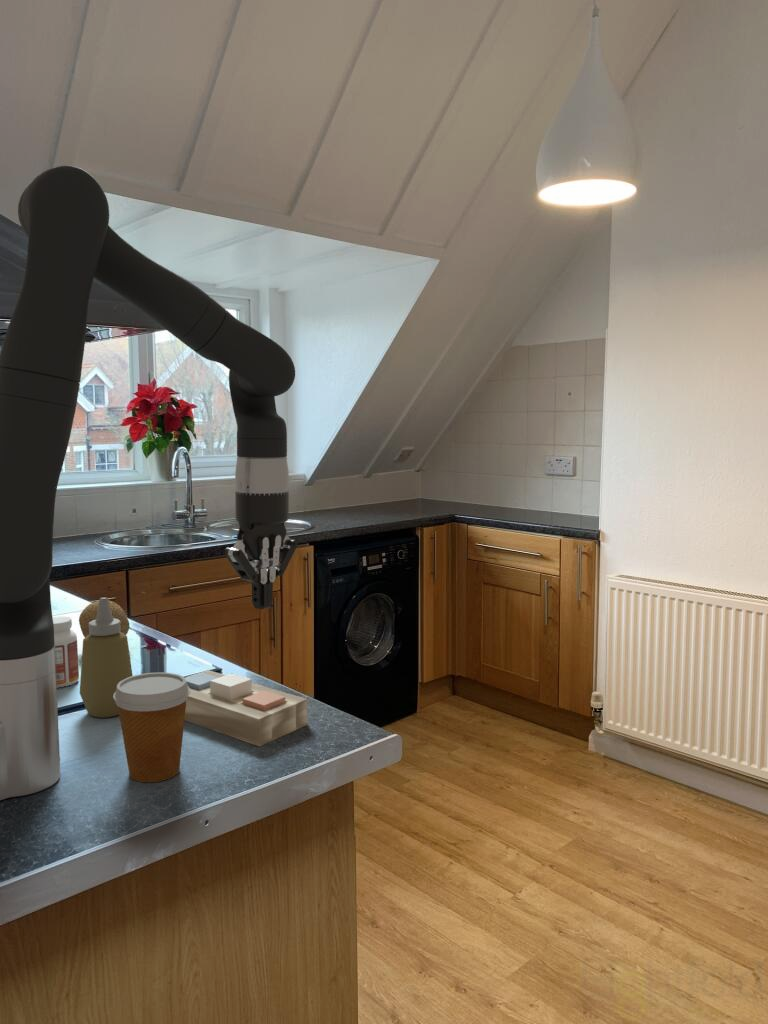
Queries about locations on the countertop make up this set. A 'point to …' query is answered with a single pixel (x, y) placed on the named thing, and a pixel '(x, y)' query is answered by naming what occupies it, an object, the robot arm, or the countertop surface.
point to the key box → (245, 714)
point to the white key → (231, 686)
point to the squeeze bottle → (103, 663)
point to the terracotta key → (263, 700)
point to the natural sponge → (91, 613)
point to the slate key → (199, 681)
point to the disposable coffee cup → (152, 723)
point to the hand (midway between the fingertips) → (262, 607)
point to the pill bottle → (65, 652)
